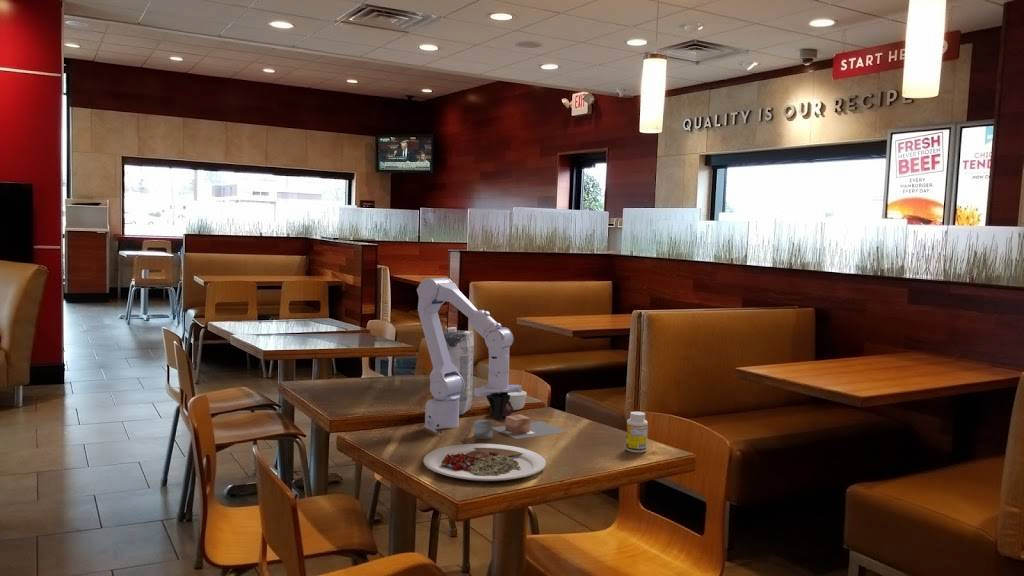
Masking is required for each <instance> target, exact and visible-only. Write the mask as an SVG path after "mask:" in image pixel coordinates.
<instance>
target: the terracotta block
mask: <svg viewBox="0 0 1024 576" xmlns="http://www.w3.org/2000/svg"><path fill="white" fill-rule="evenodd" d="M530 423H531V418H530V417H527V416H525V415H522V414H514V415H509V416H505V426H506V430H507V431H509V432H511V433H514V434H519V433H527V432H530Z"/></svg>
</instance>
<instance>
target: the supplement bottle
mask: <svg viewBox="0 0 1024 576" xmlns="http://www.w3.org/2000/svg"><path fill="white" fill-rule="evenodd" d="M648 424H649V423H648V421H647V419H646V413H645V412H642V411H630V414H629V419H627V420H626V439H625V441H626V442H625V449H626V450H627V451H629V452H630V453H637V454H639V453H644V452H646V451H647V450H648V449H647V448H648V428H649V427H648V426H649V425H648Z"/></svg>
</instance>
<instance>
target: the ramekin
mask: <svg viewBox="0 0 1024 576" xmlns="http://www.w3.org/2000/svg"><path fill="white" fill-rule="evenodd" d="M508 395H510V399H509V401H510V403H511V405H512V407H513V410H512V411H519V410H522V409H523V408H524V407H525V402H526V397H527V395H528V393H527V391H525V390H522V392H520V393H518V392H514V393H508Z"/></svg>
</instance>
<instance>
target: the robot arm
mask: <svg viewBox="0 0 1024 576" xmlns="http://www.w3.org/2000/svg"><path fill="white" fill-rule="evenodd" d="M416 292H417V296H418V303H417V312H418V316H419V320H420V323H421V328H422V330H423V331H422V332H423V334H424V337H425V338H424V339H425V342H426V346H427V349H428V353H429V356H430V361H431V364H432V370H431V372H430V373H429V381H430V383H429V384H430V385H429V391H430V393H431V395H432V396H433V399H429V400H427V401H426V403H425V408H424V409H425V410H424V412H425V413H424V425H423V428H425V429H427V430H430V431H431V432H433V433H436V434H439V433H441V431H440V429H453V428H458V427H459V426H460V424H459V423H460V420H459V419H460V415H459V398H460V393H461V392H462V391H463V390H464V386H465V383H464V380H463V378H462V376H461V375H460V374H459V371H458V368H457V367H456V366H454V365H453V364H452V363H451V359H450V356H449V352H448V348H447V345H446V341H445V337H444V334H443V333H444V330H443V326H442V323H441V319H440V315H439V311H440V308H441V307H442V305H443V304H444V303H445V302H447V303H448V302H449V303H450V304H452V305H453V306H454V307H455V308H456V309H458V311H460V312H461V313H462V314H464V316H466V318H468V319H469V326H471V327H472V328H473V330H475V331H476V332H477V334H479V335H480V336H481V338H483V339H484V343H485V346H486V347H487V349H488V350H487V351H488V375H487V376H488V381H487V386H481V387H477V388H473V396H474V397H477V398H478V397H482V396H485V397H486V399H487V401H488V403H489V407H490V406H491V409H492V413H493V416H492V418H493V420H495V421H502V419H503V417H502V415H503V412H504V409H505V406H506V404H507V402H508V401H509V399H510V395H508V393H514V392H518V393H520V392H522V391H523V390H522V388H523V387H522V385H520V384H509V381H510V347H511V346H512V345H513V343H514V340H515V339H514V334H513V332H512V331H511V330H510V328H508V327H503V326H502V324H501V323H500V322H497V321H496V320H495V319H494V318H493V317H492V316H490V315H491V313H490V312H489V311H488V310H486V311H485V310H484V309H479V310H478V309H477V307H476V306H475V305H474V304H473V303H472V302H471V301H470V300H469V299H468V298H467V296H465V295H464V294H463V292H462V291H460V289H459V287H458V286H457V284H456V283H455V282H453V281H452V280H451V279H450V278H449V277H445V276H444V277H436V278H431V277H430V278H429V277H426V278H424V279H422V281H420V283H419V285H418V286H417V288H416ZM444 375H445V376H444Z"/></svg>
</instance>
